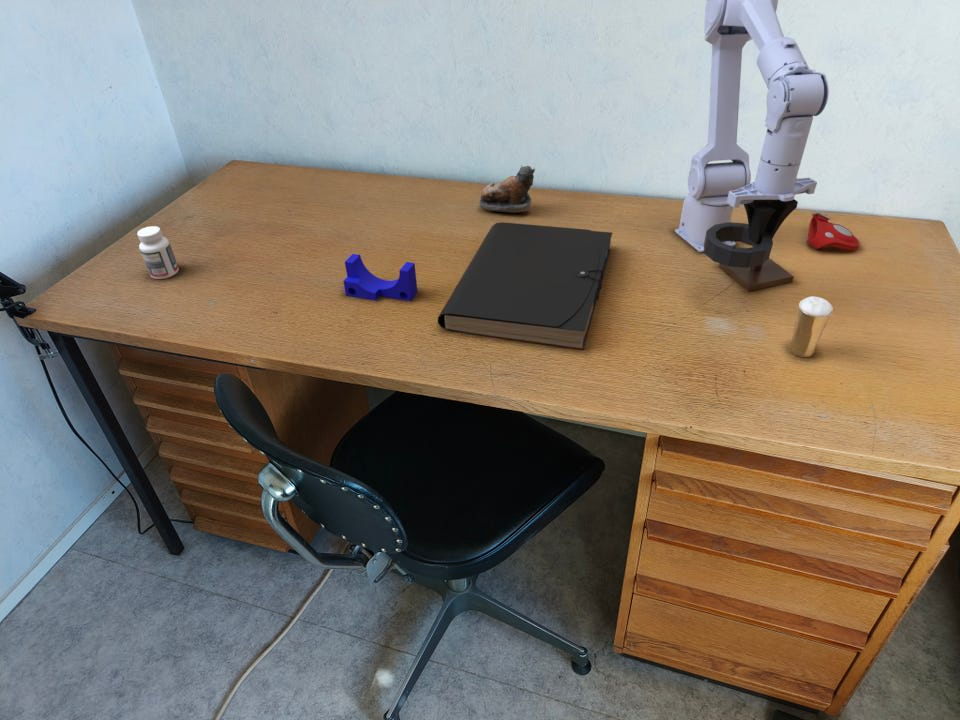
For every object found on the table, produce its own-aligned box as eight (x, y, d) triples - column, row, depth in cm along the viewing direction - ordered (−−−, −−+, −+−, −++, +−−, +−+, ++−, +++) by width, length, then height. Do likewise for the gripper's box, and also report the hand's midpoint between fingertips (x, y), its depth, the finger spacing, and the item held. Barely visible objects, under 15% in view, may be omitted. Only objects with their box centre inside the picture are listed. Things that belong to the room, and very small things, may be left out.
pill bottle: (168, 263, 129) (153, 221, 123) (184, 270, 126) (170, 228, 121) (144, 275, 126) (127, 233, 120) (160, 282, 123) (144, 240, 118)
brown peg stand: (718, 266, 121) (725, 234, 117) (760, 258, 123) (769, 225, 119) (748, 291, 114) (756, 257, 110) (792, 282, 116) (802, 248, 112)
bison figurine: (475, 214, 141) (474, 169, 135) (484, 200, 147) (483, 156, 140) (530, 219, 139) (531, 174, 132) (537, 205, 144) (538, 160, 138)
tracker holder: (872, 240, 125) (845, 244, 119) (856, 259, 128) (830, 263, 122) (822, 204, 131) (795, 206, 126) (808, 223, 134) (781, 225, 128)
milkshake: (806, 366, 98) (826, 310, 92) (778, 347, 102) (795, 292, 96) (828, 357, 100) (849, 301, 93) (799, 339, 103) (818, 284, 97)
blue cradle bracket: (345, 295, 118) (340, 266, 114) (357, 282, 121) (352, 253, 117) (407, 305, 114) (403, 276, 111) (417, 292, 118) (414, 263, 114)
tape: (692, 243, 110) (694, 228, 108) (744, 233, 112) (747, 218, 111) (726, 272, 103) (730, 256, 101) (781, 261, 105) (786, 245, 103)
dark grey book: (586, 329, 100) (436, 310, 106) (584, 350, 103) (438, 331, 109) (613, 230, 125) (491, 219, 131) (612, 250, 127) (491, 238, 133)
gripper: (755, 176, 95) (735, 259, 103) (839, 161, 98) (814, 243, 106) (726, 158, 100) (710, 238, 108) (808, 145, 103) (785, 224, 111)
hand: (759, 239), depth 108 cm, fingers closed on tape
